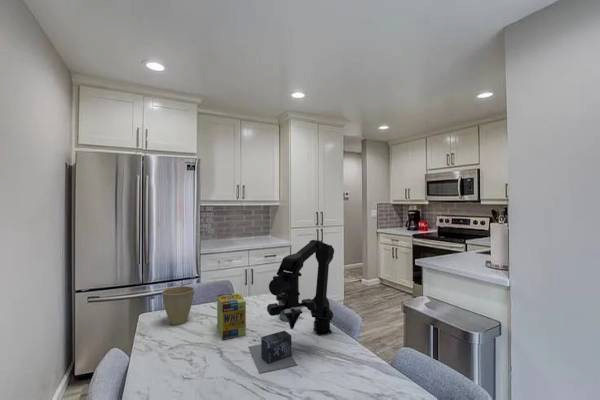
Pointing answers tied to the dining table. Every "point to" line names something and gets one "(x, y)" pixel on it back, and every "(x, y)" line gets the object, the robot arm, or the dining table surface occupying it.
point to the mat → (273, 366)
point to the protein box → (231, 315)
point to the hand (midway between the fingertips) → (291, 328)
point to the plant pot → (178, 303)
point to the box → (276, 346)
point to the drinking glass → (282, 316)
